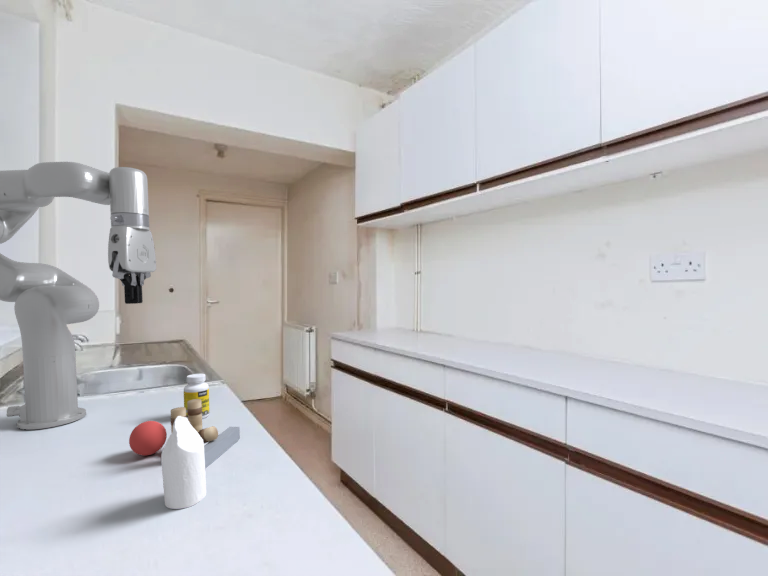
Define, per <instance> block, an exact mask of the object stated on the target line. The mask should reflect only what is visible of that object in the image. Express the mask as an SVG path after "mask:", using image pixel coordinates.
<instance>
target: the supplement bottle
mask: <svg viewBox="0 0 768 576" xmlns="http://www.w3.org/2000/svg"><path fill="white" fill-rule="evenodd" d="M206 379H207V378H206V374H205V373H193V374H189V375H187V376H186V383H187V384H186V385H185V386H184V387H183V407H185V408H186V418H187V419H188V412H187V408H188V405H187V402H188V401H189V400H193V399H201V404H202V420H203V419H205V418H207V417H209V416H210V386H209V384H208V383H207V382H205V381H206Z"/></svg>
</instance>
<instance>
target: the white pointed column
mask: <svg viewBox="0 0 768 576" xmlns="http://www.w3.org/2000/svg"><path fill="white" fill-rule="evenodd" d="M204 445H205V443H204V442H203V439H202V438H201V437H200V435H199V434H198V432H197V431H196V430H195V429H194V428H193V427H192V425H191V424H190V422H189V421H188V419H187V418H186V417H181V416H178V417H177V418H176V419H175V421H174V424H173V432H172V433H171V434H170V435H169V436H168V439H166V441H165V444H164V447H163V449H162V451H161V455H160V456H161V457H160V458H161V459H160V461H161V472H162V484H163V485H162V487H163V497H164V506H165V507H167V508H168V509H173V510H179V509H185V508H186V509H187V508H190V507H192V506H195V505H197V504H198V503H200V502H201V501H202V500H203V499H205V497H206V496H207V481H206V480H207V479H206V478H207V477H206V468H205V454H204Z"/></svg>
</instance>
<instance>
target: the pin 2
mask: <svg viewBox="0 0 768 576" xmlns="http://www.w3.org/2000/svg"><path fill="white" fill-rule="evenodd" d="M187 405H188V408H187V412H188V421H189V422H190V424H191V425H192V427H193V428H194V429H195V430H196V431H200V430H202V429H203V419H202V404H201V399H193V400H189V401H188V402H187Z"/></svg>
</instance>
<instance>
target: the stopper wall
mask: <svg viewBox="0 0 768 576" xmlns="http://www.w3.org/2000/svg"><path fill="white" fill-rule="evenodd" d="M240 433H241V431H240V426H229V427H227V428H226V429H224V430H222V432H220V433H218V437H217V439H215V440H212V441H210V442H207V443H205V444H204V454H205V469H207V467H209V466H210V465H211V464H212V463H214V462H215V461H216V460H217V459H218V458H220V456H222V455H223V454H225V452H226V451H229V449H231V448H232V447H233V446H234V445H235V444H236V443H238V442H239V441H240V440H239V439H241V437H240V436H241V435H240ZM238 440H239V441H238Z"/></svg>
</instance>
